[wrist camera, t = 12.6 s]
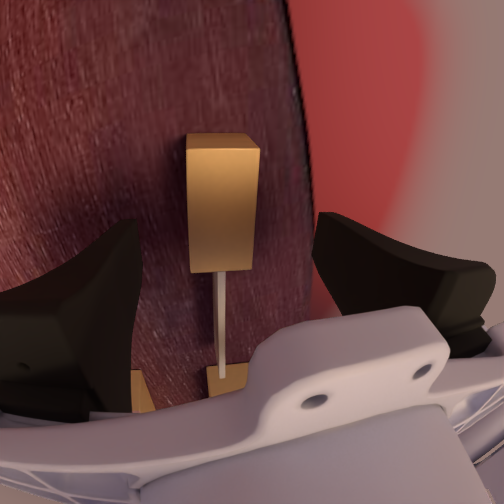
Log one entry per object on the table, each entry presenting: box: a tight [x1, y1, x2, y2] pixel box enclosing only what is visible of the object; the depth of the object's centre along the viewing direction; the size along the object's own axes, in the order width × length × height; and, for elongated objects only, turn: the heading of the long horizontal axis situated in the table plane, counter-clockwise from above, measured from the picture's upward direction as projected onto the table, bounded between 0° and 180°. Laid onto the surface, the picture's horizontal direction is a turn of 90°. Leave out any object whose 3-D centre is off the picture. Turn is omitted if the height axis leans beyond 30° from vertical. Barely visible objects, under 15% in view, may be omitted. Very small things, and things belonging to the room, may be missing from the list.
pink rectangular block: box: [131, 370, 156, 413], centre depth 23 cm, size 6×8×4 cm
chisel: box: [186, 133, 260, 379], centre depth 17 cm, size 15×3×4 cm, turn 177°
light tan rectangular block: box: [206, 362, 249, 398], centre depth 25 cm, size 4×8×4 cm, turn 176°
